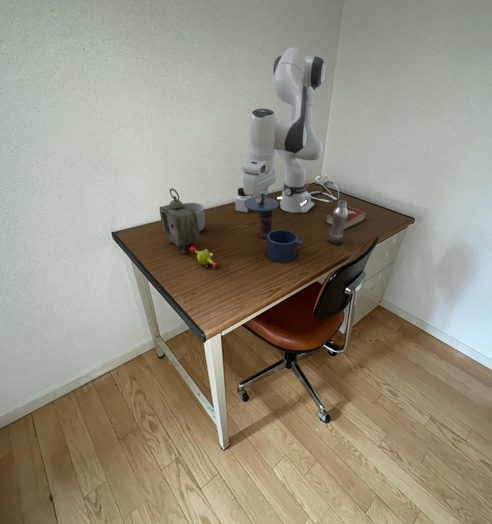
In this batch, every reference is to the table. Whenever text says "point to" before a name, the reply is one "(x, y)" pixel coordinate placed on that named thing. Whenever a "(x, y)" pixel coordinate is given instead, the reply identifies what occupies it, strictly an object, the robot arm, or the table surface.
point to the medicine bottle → (241, 200)
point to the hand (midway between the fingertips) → (261, 200)
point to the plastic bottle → (338, 222)
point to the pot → (281, 245)
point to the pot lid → (261, 204)
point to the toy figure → (204, 257)
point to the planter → (198, 214)
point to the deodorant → (265, 222)
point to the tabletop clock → (179, 222)
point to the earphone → (326, 188)
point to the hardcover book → (349, 217)
